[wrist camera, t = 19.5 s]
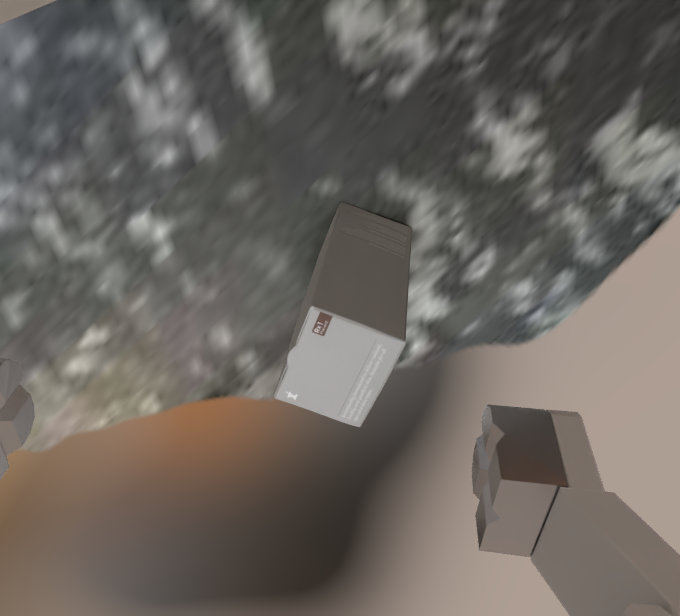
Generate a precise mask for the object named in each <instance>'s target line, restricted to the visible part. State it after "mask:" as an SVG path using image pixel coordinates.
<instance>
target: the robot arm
mask: <svg viewBox="0 0 680 616" xmlns="http://www.w3.org/2000/svg"><path fill="white" fill-rule="evenodd" d="M23 377H24V374H23V372H22V369H21V367H20V364H19V362H17V361H14V360H11V359H5V358H0V479H1V478H2V476H3V475H4V474H5V472H6V470H7V469H8V467H9V464H8V459H7V455H9V454H10V453H12V452H14V451H15V450H17V449H19V448H20V447H22V446H23V444H24V443H25V441H26V439H27V438H28V436H29V434H30V432H31V428H32V425H33V421H34V418H35V416H34V403H33V400H32V397H31V395H30V394H29V393H28V392H27V391H26V390H25V389H24V388H22V387H21V386H20V385H19V384H20V382H21V381H22V379H23ZM481 423H482V431H483V434H482V435H481V436H480V437H478V438H477V439H476V444H475V448H474V453H473V463H472V484H473V493H474V494H475V495H476V496H477V498H478V499H479V500H480V501H479V504H478V508H477V511H476V524H477V534H478V543H479V550H480V551H488V552H496V553H503V554H511V555H518V556H525V557H531V561H532V562H533V564H534V565H535V567H536V568H537V570H538V571H539V572H540V574H541V575H542V577H543V578H544V580H545V581H546V582H547V584H548V585H549V587H550V588H551V590H552V591H553V592H554V594H555V595H556V596H557V598H558V600H559V601H560V602H561V604H562V605H563V607H564V608H565V609H566V611H567V612H568V614H569V615H570V616H680V555H679V554H678V553H677V552H676V551H675V550H674V549H673V548H672V547H671V546H670V545H668V543H667V542H665V541H664V540H663V539H662V538H661V537H660V536H659V535H658V534H657V533H656V532H655V531H654V530H653V529H652V528H651V527H650V526H649V525H647V523H646V522H644V521H643V520H642V519H641V518H640V517H639V516H638V515H637V514H636V513H635V512H634V511H633V510H632V509H631V508H630V507H629V506H628V505H626V503H624V502H623V501H622V500H621V499H620V498H619V497H618V496H617V495H616V494H615V493H612V492H605V490H604V487H603V484H602V481H601V478H600V474H599V471H598V468H597V465H596V462H595V458H594V455H593V452H592V449H591V445H590V443H589V439H588V436H587V433H586V430H585V427H584V423H583V420H582V417H581V416H580V415H579V414H578V412H568V411H557V410H543V409H532V408H520V407H509V406H497V405H487V406H486V408H485V409H484V412H483V416H482V420H481Z"/></svg>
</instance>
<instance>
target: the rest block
mask: <svg viewBox="0 0 680 616" xmlns="http://www.w3.org/2000/svg"><path fill="white" fill-rule="evenodd" d="M54 1H56V0H0V24H2V23H4V22H7V21H9V20H11V19H14V18H16V17H18V16H21V15H23V14H25V13H28V12H30V11H33V10H35V9H37V8H40V7H42V6H44V5H47V4H49V3H51V2H54Z"/></svg>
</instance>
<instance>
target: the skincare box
mask: <svg viewBox="0 0 680 616" xmlns="http://www.w3.org/2000/svg"><path fill="white" fill-rule="evenodd" d="M411 236H412V229H411V228H410V227H408V226H405V225H403V224H400V223H397V222H394V221H392V220H389V219H386V218H384V217H381V216H378V215H376V214H373V213H370V212H368V211H365V210H363V209H360V208H357V207H354V206H352V205H349V204H346V203H343V202H341V203H340V204H339V206H338V209H337V211H336V213H335V216H334V218H333V221H332V223H331V225H330V228H329V230H328V233H327V235H326V238H325V240H324V243H323V246H322V248H321V251H320V253H319V256H318V259H317V262H316V265H315V268H314V271H313V274H312V277H311V280H310V283H309V286H308V289H307V292H306V295H305V298H304V301H303V304H302V307H301V311H300V314H299V317H298V320H297V323H296V327H295V330H294V333H293V336H292V339H291V342H290V346H289V349H288V352H287V355H286V358H285V362H284V365H283V368H282V372H281V375H280V378H279V382H278V385H277V389H276V392H275V398H276V399H278V400H281V401H284V402H287V403H290V404H293V405H297V406H299V407H302V408H305V409H308V410H311V411H313V412H316V413H319V414H322V415H324V416H327V417H330V418H332V419H335V420H338V421H341V422H343V423H347V424H350V425H353V426H357V427H360V426H361V425H362V423H363V421H364V420H365V418H366V416H367V415H368V413H369V411H370V409H371V407H372V406H373V404H374V402H375V400H376V398H377V397H378V395H379V393H380V391H381V390H382V388H383V386H384V384H385V382H386V381H387V379H388V377H389V375H390V373H391V371H392V369H393V368H394V366H395V364H396V362H397V360H398V358H399V356H400V354H401V352H402V351H403V348H404V346H405V344H406V319H407V302H408V285H409V267H410V252H411Z"/></svg>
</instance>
